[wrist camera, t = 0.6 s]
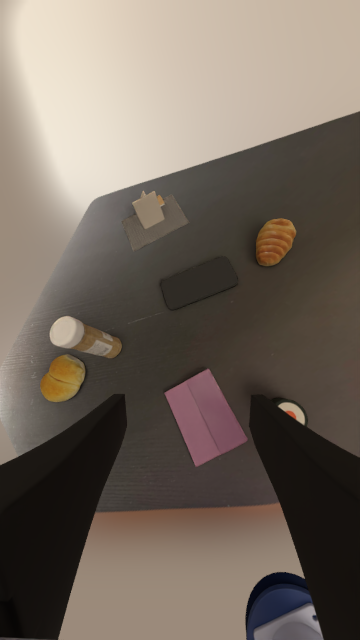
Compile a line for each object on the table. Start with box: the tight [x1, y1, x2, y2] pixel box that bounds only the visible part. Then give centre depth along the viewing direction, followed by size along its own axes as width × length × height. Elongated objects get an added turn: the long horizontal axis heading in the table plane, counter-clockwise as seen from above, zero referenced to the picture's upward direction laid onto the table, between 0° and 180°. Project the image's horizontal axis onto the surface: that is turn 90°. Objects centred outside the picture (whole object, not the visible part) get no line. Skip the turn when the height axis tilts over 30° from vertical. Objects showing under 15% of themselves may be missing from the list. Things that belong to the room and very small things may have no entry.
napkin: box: [165, 369, 248, 467], centre depth 32 cm, size 12×9×1 cm
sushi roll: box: [271, 398, 308, 427], centre depth 28 cm, size 4×4×5 cm
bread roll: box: [40, 354, 85, 402], centre depth 38 cm, size 8×9×4 cm
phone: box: [161, 256, 238, 310], centre depth 40 cm, size 7×1×15 cm
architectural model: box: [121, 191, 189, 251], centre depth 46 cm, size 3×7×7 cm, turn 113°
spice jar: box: [50, 316, 122, 358], centre depth 34 cm, size 5×5×13 cm
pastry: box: [256, 218, 296, 266], centre depth 38 cm, size 9×7×4 cm
